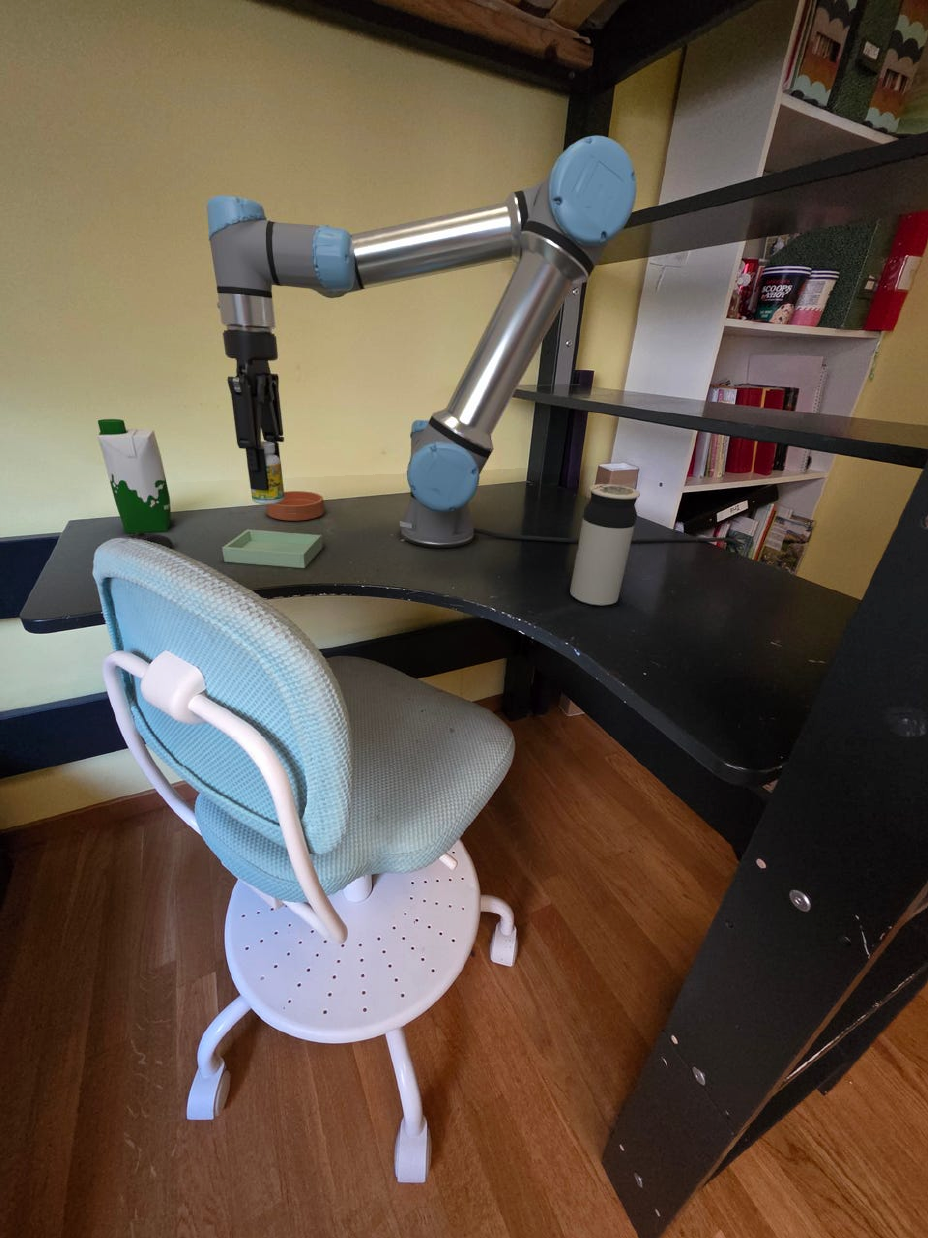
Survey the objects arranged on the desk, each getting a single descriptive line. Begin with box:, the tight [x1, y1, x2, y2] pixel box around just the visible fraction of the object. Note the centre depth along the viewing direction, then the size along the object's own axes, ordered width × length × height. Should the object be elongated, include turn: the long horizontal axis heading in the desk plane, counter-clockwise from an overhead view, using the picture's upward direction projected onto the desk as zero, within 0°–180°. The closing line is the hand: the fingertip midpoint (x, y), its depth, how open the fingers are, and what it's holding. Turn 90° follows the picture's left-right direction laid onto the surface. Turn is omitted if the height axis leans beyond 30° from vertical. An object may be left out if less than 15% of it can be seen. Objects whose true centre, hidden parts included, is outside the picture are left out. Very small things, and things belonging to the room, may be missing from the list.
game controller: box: [126, 532, 173, 549], centre depth 89 cm, size 10×5×6 cm
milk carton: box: [97, 418, 172, 534], centre depth 97 cm, size 9×9×20 cm
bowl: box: [265, 490, 325, 522], centre depth 115 cm, size 12×12×4 cm
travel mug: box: [569, 483, 641, 606], centre depth 82 cm, size 8×8×18 cm
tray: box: [221, 529, 323, 569], centre depth 93 cm, size 14×10×3 cm
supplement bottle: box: [246, 440, 285, 505], centre depth 87 cm, size 5×5×10 cm
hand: (267, 484), depth 88 cm, fingers closed on supplement bottle, 5 cm apart
